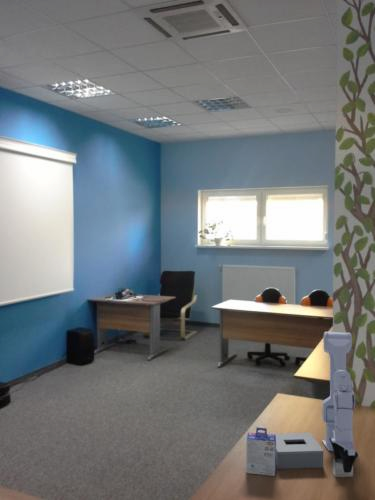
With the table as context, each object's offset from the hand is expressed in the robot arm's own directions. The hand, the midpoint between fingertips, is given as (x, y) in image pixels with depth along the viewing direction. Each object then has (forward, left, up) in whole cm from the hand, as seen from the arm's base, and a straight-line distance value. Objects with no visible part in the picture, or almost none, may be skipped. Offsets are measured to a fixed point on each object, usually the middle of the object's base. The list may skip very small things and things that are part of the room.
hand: (342, 465), depth 158 cm
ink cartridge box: (+27, -4, -3) cm, 28 cm away
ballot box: (+13, -12, -3) cm, 18 cm away
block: (0, 0, -3) cm, 3 cm away
